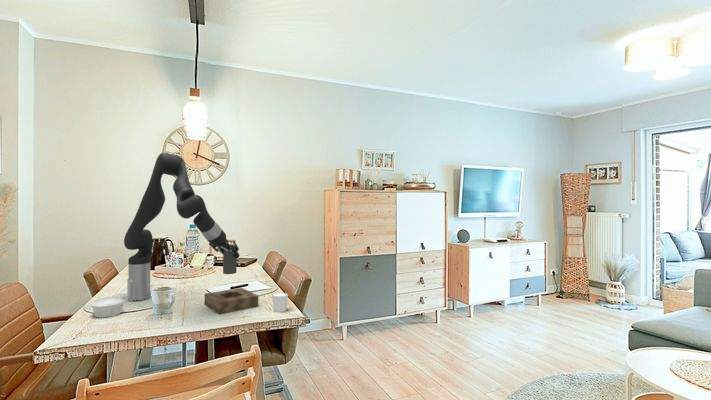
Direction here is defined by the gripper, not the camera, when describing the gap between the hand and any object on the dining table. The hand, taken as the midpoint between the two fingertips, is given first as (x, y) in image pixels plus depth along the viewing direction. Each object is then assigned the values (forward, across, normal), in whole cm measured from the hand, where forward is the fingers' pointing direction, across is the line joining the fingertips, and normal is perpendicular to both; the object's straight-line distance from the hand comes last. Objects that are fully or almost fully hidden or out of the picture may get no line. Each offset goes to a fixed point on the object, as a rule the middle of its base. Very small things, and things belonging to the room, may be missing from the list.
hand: (232, 256), depth 172 cm
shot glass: (+19, -24, +14) cm, 33 cm away
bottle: (+4, 0, +7) cm, 8 cm away
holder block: (+15, 0, +16) cm, 22 cm away
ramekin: (-8, +37, +40) cm, 55 cm away
